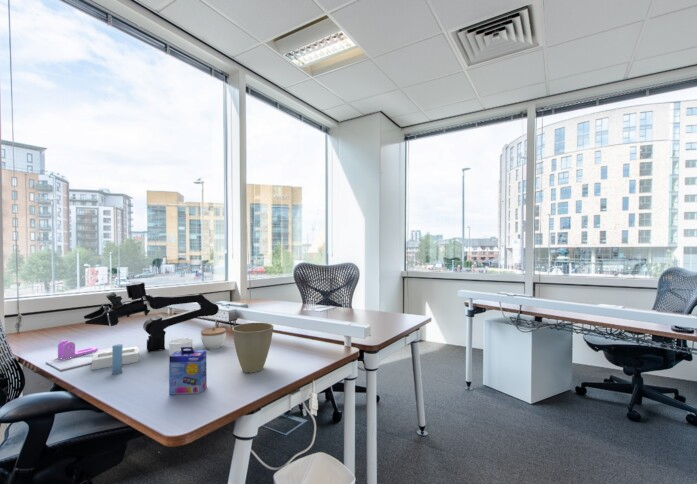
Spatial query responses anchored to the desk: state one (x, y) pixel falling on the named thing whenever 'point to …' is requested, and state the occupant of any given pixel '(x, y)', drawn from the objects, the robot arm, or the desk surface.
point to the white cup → (179, 344)
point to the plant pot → (252, 344)
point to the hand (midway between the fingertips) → (84, 320)
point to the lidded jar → (213, 337)
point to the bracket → (72, 350)
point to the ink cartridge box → (187, 371)
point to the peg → (117, 359)
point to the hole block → (105, 357)
